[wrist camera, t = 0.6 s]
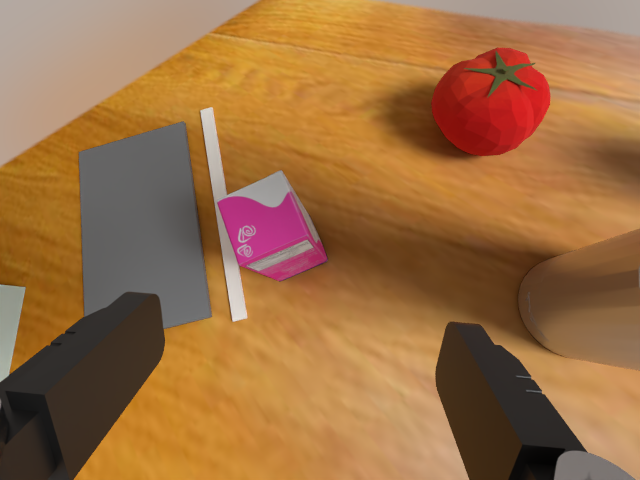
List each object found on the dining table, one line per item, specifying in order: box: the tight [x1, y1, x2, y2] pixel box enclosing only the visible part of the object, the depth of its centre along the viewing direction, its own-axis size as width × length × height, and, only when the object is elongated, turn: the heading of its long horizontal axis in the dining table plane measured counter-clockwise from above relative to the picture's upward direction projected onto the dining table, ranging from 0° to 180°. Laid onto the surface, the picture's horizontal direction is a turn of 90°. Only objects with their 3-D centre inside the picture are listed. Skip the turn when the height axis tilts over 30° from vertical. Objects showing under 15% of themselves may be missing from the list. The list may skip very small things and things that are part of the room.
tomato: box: [431, 48, 550, 156], centre depth 32 cm, size 9×10×8 cm
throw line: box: [200, 107, 247, 322], centre depth 37 cm, size 2×26×1 cm, turn 13°
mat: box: [79, 122, 212, 329], centre depth 38 cm, size 14×24×1 cm, turn 13°
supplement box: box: [217, 170, 328, 281], centre depth 30 cm, size 6×6×12 cm
